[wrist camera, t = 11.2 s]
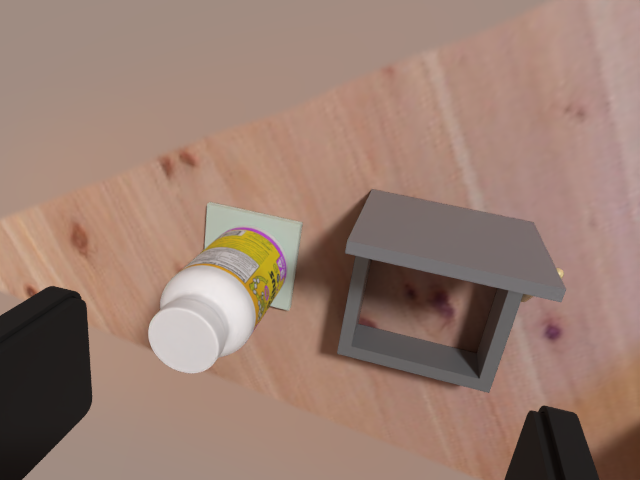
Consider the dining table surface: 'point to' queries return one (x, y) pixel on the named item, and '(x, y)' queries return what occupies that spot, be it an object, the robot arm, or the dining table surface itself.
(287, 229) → the rest pad
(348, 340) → the case
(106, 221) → the dining table surface
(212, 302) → the supplement bottle
